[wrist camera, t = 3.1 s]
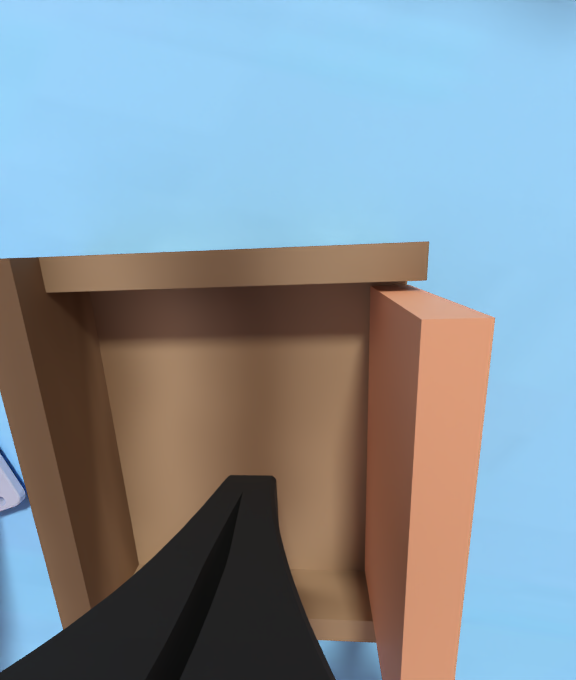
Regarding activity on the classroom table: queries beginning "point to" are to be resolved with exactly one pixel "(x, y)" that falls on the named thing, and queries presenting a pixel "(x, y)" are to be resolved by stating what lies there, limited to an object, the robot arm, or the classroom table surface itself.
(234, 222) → the classroom table surface
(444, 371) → the orange rectangular block
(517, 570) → the classroom table surface
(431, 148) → the classroom table surface
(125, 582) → the robot arm
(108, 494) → the open wooden crate
